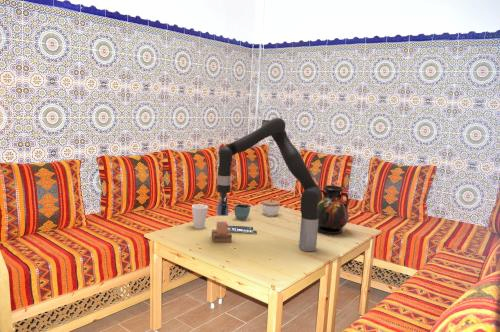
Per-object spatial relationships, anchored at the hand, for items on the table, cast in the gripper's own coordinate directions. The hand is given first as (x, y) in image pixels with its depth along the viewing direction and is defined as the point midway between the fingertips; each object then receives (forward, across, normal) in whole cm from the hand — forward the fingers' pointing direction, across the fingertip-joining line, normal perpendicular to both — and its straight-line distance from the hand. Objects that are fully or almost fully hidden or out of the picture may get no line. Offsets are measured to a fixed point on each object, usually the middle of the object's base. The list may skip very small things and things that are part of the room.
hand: (222, 213), depth 217 cm
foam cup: (+15, +22, +11) cm, 29 cm away
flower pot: (+15, +38, -18) cm, 45 cm away
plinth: (+15, 0, 0) cm, 15 cm away
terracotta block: (+11, 0, 0) cm, 11 cm away
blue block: (+1, 0, 0) cm, 1 cm away
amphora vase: (+15, +12, -69) cm, 72 cm away
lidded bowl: (+15, +48, -40) cm, 64 cm away
